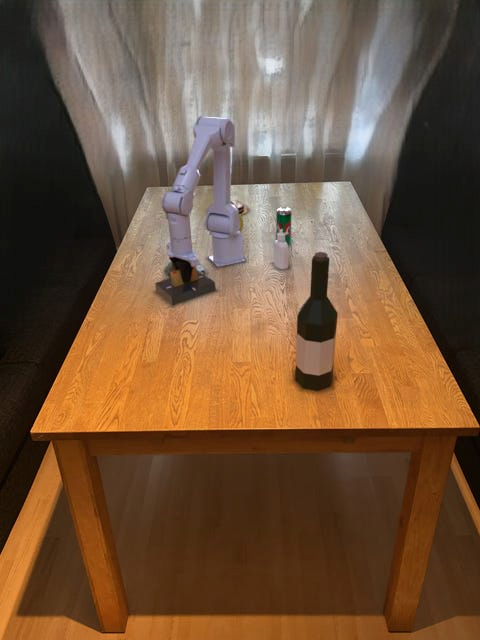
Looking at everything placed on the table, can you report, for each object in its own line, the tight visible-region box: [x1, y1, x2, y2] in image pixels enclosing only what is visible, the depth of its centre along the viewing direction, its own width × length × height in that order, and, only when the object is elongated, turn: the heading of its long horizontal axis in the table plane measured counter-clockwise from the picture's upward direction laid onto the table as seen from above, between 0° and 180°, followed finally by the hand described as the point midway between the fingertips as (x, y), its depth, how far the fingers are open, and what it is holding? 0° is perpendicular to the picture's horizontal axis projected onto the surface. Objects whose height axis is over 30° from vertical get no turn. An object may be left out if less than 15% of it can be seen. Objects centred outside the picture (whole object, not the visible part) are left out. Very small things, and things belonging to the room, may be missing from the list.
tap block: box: [154, 270, 216, 307], centre depth 151 cm, size 14×12×3 cm
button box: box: [165, 261, 206, 277], centre depth 162 cm, size 10×8×3 cm
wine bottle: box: [294, 251, 339, 392], centre depth 109 cm, size 8×8×30 cm
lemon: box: [239, 214, 244, 233], centre depth 185 cm, size 6×6×8 cm
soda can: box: [275, 206, 293, 246], centre depth 176 cm, size 5×5×12 cm
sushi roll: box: [212, 199, 248, 216], centre depth 206 cm, size 15×15×4 cm
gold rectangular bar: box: [170, 266, 198, 287], centre depth 150 cm, size 8×2×4 cm, turn 124°
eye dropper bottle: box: [273, 229, 289, 270], centre depth 161 cm, size 4×6×12 cm
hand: (184, 280), depth 150 cm, fingers closed on gold rectangular bar, 2 cm apart
